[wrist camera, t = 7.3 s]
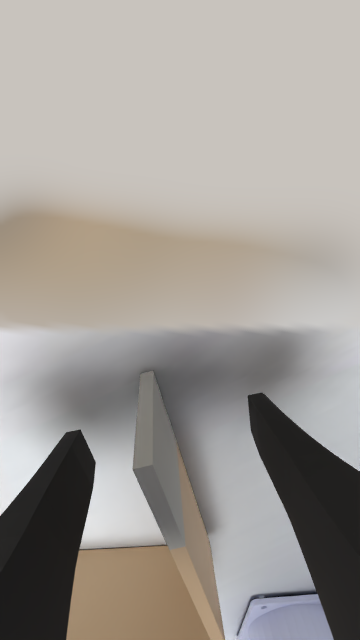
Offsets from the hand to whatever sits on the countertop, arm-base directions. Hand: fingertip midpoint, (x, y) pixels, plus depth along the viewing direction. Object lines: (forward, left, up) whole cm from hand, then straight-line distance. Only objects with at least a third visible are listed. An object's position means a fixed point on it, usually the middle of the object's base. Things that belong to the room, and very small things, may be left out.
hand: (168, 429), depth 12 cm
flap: (-1, +5, -2) cm, 5 cm away
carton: (+2, +17, -2) cm, 17 cm away
